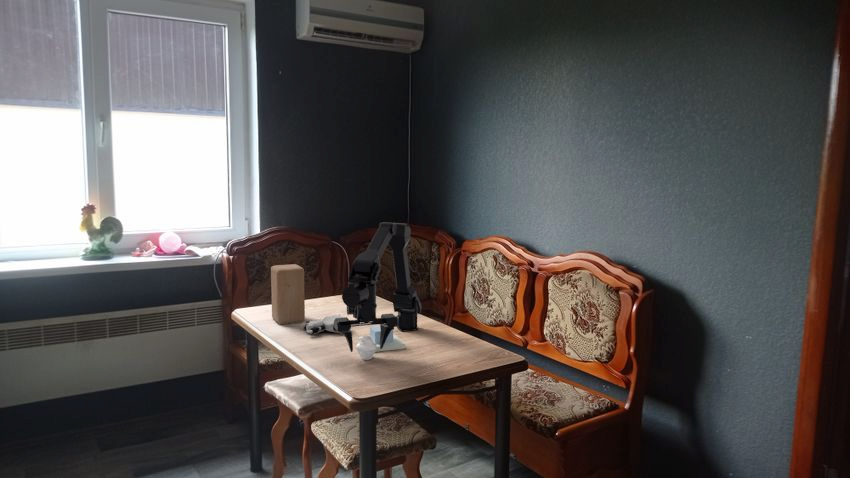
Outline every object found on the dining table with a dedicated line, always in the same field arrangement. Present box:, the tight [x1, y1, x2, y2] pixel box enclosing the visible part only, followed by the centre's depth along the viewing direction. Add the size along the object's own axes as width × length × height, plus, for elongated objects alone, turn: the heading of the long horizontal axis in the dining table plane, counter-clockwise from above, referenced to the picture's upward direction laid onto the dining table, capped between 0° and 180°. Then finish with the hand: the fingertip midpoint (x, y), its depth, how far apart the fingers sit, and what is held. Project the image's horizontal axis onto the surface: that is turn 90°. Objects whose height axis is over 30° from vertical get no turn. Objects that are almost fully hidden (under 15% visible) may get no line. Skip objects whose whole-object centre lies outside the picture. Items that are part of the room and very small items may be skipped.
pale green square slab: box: [358, 333, 406, 353], centre depth 202 cm, size 12×12×2 cm
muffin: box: [355, 335, 377, 361], centre depth 189 cm, size 6×6×7 cm
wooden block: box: [270, 263, 306, 325], centre depth 229 cm, size 10×10×20 cm
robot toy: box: [301, 314, 344, 335], centre depth 217 cm, size 12×4×15 cm
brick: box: [369, 325, 394, 344], centre depth 202 cm, size 6×6×4 cm
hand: (366, 350), depth 189 cm, fingers open, 9 cm apart
